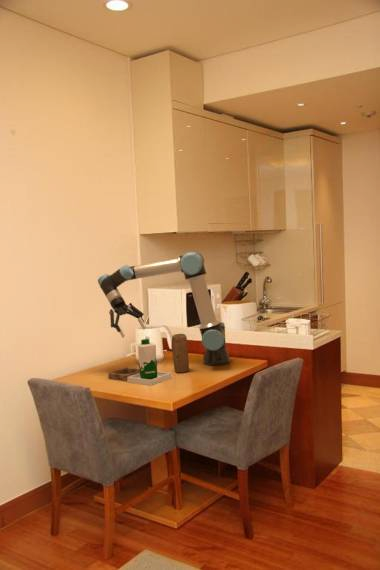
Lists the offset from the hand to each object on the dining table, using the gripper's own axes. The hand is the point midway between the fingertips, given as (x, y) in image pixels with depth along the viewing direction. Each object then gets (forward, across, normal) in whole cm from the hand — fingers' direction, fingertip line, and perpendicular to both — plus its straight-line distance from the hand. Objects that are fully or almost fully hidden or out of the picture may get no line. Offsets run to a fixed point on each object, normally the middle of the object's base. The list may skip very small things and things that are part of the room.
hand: (134, 332), depth 288 cm
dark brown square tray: (+17, +9, -14) cm, 24 cm away
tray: (+26, +5, -2) cm, 27 cm away
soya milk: (+26, +6, -2) cm, 27 cm away
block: (+28, -17, -6) cm, 33 cm away
